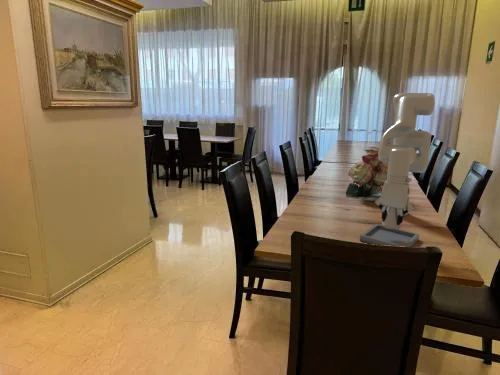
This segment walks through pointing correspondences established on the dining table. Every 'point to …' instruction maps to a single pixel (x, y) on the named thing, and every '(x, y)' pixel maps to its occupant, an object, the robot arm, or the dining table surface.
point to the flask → (391, 219)
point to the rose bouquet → (367, 177)
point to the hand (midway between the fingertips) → (391, 222)
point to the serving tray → (389, 236)
